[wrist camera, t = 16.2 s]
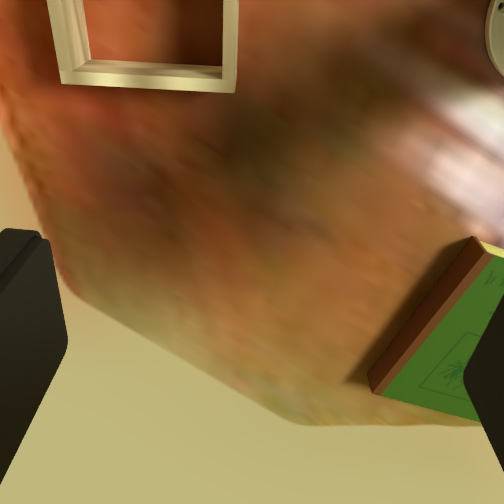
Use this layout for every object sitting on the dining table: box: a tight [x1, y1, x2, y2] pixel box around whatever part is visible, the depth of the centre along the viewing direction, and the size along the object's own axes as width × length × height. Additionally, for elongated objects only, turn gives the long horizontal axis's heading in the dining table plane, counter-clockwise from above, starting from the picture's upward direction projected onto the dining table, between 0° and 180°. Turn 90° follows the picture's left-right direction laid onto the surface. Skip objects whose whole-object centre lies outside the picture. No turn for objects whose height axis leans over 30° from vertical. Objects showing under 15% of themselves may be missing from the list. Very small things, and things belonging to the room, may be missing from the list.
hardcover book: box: [367, 236, 504, 422], centre depth 57 cm, size 25×19×4 cm
